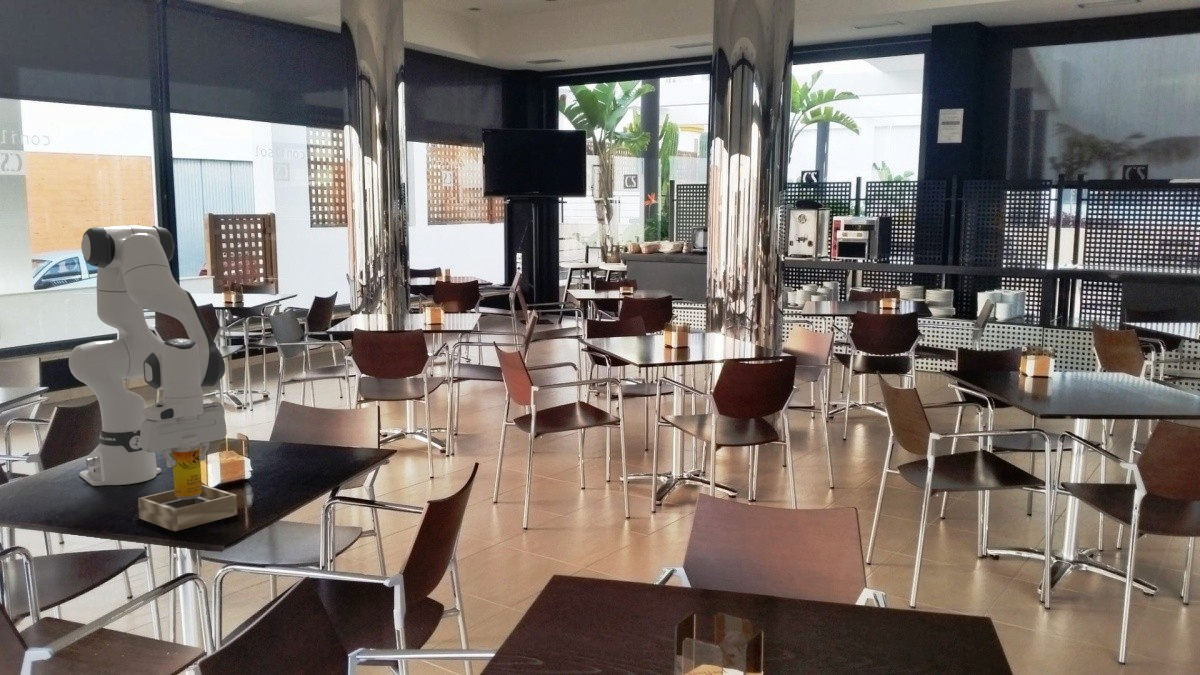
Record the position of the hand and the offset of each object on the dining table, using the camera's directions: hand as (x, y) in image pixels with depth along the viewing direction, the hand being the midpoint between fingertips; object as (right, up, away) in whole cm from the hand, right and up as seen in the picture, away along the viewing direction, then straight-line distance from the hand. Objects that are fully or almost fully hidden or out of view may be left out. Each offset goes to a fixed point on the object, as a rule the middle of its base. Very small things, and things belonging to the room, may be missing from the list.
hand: (186, 463), depth 228 cm
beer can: (0, -8, +1) cm, 8 cm away
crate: (0, -13, +2) cm, 13 cm away
